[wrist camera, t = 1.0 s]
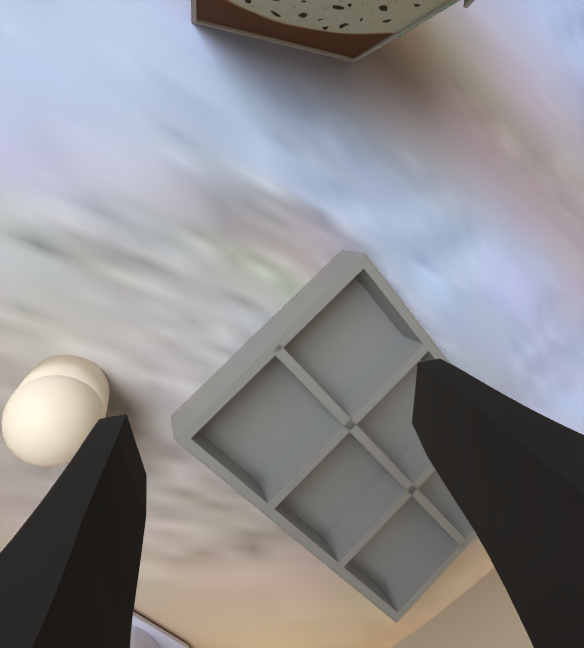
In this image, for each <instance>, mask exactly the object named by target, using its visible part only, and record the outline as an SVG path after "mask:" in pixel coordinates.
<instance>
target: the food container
mask: <svg viewBox="0 0 584 648" xmlns="http://www.w3.org/2000/svg"><path fill="white" fill-rule="evenodd" d="M458 1H460V0H191V16H192V23H194V24H198V25H203V26H207V27H211V28H215V29H219V30H223V31H227V32H231V33H235V34H239V35H243V36H247V37H251V38H256V39H260V40H264V41H268V42H272V43H276V44H280V45H284V46H288V47H292V48H296V49H300V50H304V51H309V52H313V53H317V54H321V55H325V56H329V57H333V58H337V59H341V60H345V61H349V62H353V63H355V62H357V61H359V60H360V59H362V58H364V57H365V56H367V55H369V54H371V53H372V52H374V51H376V50H377V49H379V48H381V47H382V46H384V45H386V44H387V43H389V42H391V41H392V40H394V39H396V38H397V37H399V36H401V35H402V34H404V33H406V32H408V31H409V30H411V29H413V28H414V27H416V26H418V25H419V24H421V23H423V22H424V21H426V20H428V19H429V18H431V17H433V16H434V15H436V14H438V13H439V12H441V11H443V10H445V9H446V8H448V7H450V6H451V5H453V4H455V3H456V2H458ZM473 1H474V0H464V7H465V8H468V7H469V6H470V5H471V3H472V2H473Z"/></svg>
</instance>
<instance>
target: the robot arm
mask: <svg viewBox="0 0 584 648" xmlns="http://www.w3.org/2000/svg"><path fill="white" fill-rule="evenodd" d="M412 424H413V427H414V429H415V431H416V433H417V435H418V438H419V440H420V442H421V444H422V446H423V448H424V450H425V452H426V455H427V457H428V458H429V460H430V462H431V463H432V465H433V467H434V468H435V470H436V471H437V473H438V475H439V476H440V478H441V479H442V481H443V482H444V484H445V486H446V487H447V489H448V490H449V492H450V493H451V495H452V497H453V498H454V500H455V501H456V503H457V504H458V506H459V507H460V509H461V511H462V512H463V514H464V515H465V517H466V518H467V520H468V522H469V523H470V525H471V526H472V528H473V529H474V531H475V533H476V534H477V536H478V538H479V539H480V541H481V543H482V544H483V546H484V548H485V549H486V551H487V553H488V555H489V557H490V559H491V561H492V563H493V565H494V567H495V569H496V571H497V573H498V574H499V576H500V578H501V580H502V582H503V584H504V586H505V588H506V590H507V592H508V594H509V596H510V598H511V600H512V602H513V604H514V607H515V608H516V611H517V613H518V615H519V617H520V619H521V621H522V623H523V625H524V627H525V629H526V631H527V633H528V636H529V638H530V640H531V642H532V644H533V647H534V648H584V435H583V434H580V433H578V432H576V431H574V430H572V429H569V428H567V427H565V426H563V425H561V424H559V423H557V422H555V421H553V420H551V419H549V418H547V417H545V416H543V415H541V414H539V413H537V412H535V411H533V410H531V409H529V408H528V407H526V406H524V405H522V404H520V403H518V402H516V401H515V400H513V399H511V398H509V397H507V396H506V395H504V394H502V393H500V392H499V391H497V390H495V389H493V388H492V387H490V386H488V385H486V384H485V383H483V382H481V381H479V380H478V379H476V378H474V377H473V376H471V375H469V374H467V373H466V372H464V371H462V370H460V369H459V368H457V367H455V366H453V365H452V364H450V363H448V362H446V361H444V360H442V359H434V360H428V361H423V362H418V365H417V375H416V385H415V395H414V406H413V416H412ZM145 521H146V472H145V469H144V466H143V463H142V460H141V457H140V454H139V451H138V448H137V445H136V442H135V439H134V436H133V433H132V430H131V426H130V423H129V420H128V417H127V414H125V415H119V416H113V417H108V418H102V419H99V420H98V421H97V423H96V424H95V425H94V427H93V428H92V430H91V431H90V433H89V434H88V436H87V437H86V439H85V440H84V442H83V443H82V445H81V446H80V448H79V449H78V451H77V452H76V454H75V455H74V457H73V458H72V460H71V461H70V462H69V464H68V465H67V467H66V468H65V470H64V471H63V473H62V474H61V475H60V477H59V478H58V480H57V481H56V482H55V484H54V485H53V487H52V488H51V489H50V491H49V492H48V494H47V495H46V496H45V498H44V499H43V500H42V502H41V503H40V504H39V506H38V507H37V508H36V509H35V511H34V512H33V513H32V514H31V516H30V517H29V518H28V520H27V521H26V522H25V523H24V525H23V526H22V527H21V528H20V530H19V531H18V532H17V534H16V535H15V536H14V537H13V539H12V540H11V541H10V542H9V543H8V544H7V546H6V547H5V548H4V549H3V550H2V552H1V553H0V648H189V646H188V645H187V644H186V643H184V642H183V641H181V640H179V639H178V638H176V637H174V636H173V635H171V634H169V633H168V632H166V631H165V630H163V629H161V628H160V627H158V626H156V625H155V624H153V623H151V622H150V621H148V620H147V619H145V618H143V617H142V616H140V615H138V614H137V613H135V612H133V610H134V603H135V596H136V588H137V581H138V574H139V566H140V559H141V552H142V544H143V536H144V529H145Z"/></svg>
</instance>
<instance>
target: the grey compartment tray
mask: <svg viewBox="0 0 584 648" xmlns="http://www.w3.org/2000/svg"><path fill="white" fill-rule="evenodd" d="M434 359H442V360H444V361H446V362H448V363H449V361H448V360H447V359H446V357H445V356H444V355H443V353H442V352H441V351H440V350H439V348H438V347H437V346H436V344H435V343H434V342H433V341H432V339H431V338H430V337H429V335H428V334H427V333H426V331H425V330H424V329H423V328H422V326H421V325H420V324H419V322H418V321H417V320H416V318H415V317H414V316H413V315H412V313H411V312H410V311H409V309H408V308H407V307H406V306H405V304H404V303H403V302H402V300H401V299H400V298H399V296H398V295H397V294H396V293H395V291H394V290H393V289H392V287H391V286H390V285H389V283H388V282H387V281H386V280H385V278H384V277H383V276H382V274H381V273H380V272H379V271H378V269H377V268H376V267H375V265H374V264H373V263H372V261H371V260H370V259H369V258H368V256H367V255H366V254H365V253H360V252H351V251H343V250H342V251H341V252H340V253H339V254H338V255H337V256H335V257H334V258H333V259H332V260H331V261H330V262H329V263H328V264H327V265H326V266H325V267H324V268H323V269H322V270H321V271H320V272H319V273H318V274H317V275H316V276H315V277H314V278H313V279H312V280H311V281H310V282H309V283H308V284H307V285H306V286H305V287H304V288H303V289H302V290H301V291H300V292H298V293H297V294H296V295H295V296H294V297H293V298H292V299H291V300H290V301H289V302H288V303H287V304H286V305H285V306H284V307H283V308H282V309H281V310H280V311H279V312H278V313H277V314H276V315H275V316H274V317H273V318H272V319H271V320H270V321H269V322H268V323H267V324H266V325H265V326H264V327H263V328H261V329H260V330H259V331H258V332H257V333H256V334H255V335H254V336H253V337H252V338H251V339H250V340H249V341H248V342H247V343H246V344H245V345H244V346H243V347H242V348H241V349H240V350H239V351H238V352H237V353H236V354H235V355H234V356H233V357H232V358H231V359H230V360H229V361H228V362H227V363H226V364H224V365H223V366H222V367H221V368H220V369H219V370H218V371H217V372H216V373H215V374H214V375H213V376H212V377H211V378H210V379H209V380H208V381H207V382H206V383H205V384H204V385H203V386H202V387H201V388H200V389H199V390H198V391H197V392H196V393H195V394H194V395H193V396H192V397H191V398H190V399H189V400H187V401H186V402H185V403H184V404H183V405H182V406H181V407H180V408H179V409H178V410H177V411H176V412H175V413H174V414H173V415H172V416H171V420H172V427H173V433H174V440H175V441H176V442H178V443H179V444H180V445H181V446H182V447H184V448H185V449H186V450H187V451H189V452H190V453H191V454H192V455H193V456H195V457H196V458H197V459H198V460H199V461H201V462H202V463H203V464H204V465H206V466H207V467H208V468H209V469H210V470H212V471H213V472H214V473H215V474H216V475H218V476H219V477H220V478H221V479H222V480H224V481H225V482H226V483H227V484H229V485H230V486H231V487H232V488H233V489H235V490H236V491H237V492H238V493H239V494H241V495H242V496H243V497H244V498H246V499H247V500H248V501H249V502H250V503H252V504H253V505H254V506H255V507H256V508H258V509H259V510H260V511H261V512H263V513H264V514H265V515H266V516H267V517H269V518H270V519H271V520H272V521H273V522H275V523H276V524H277V525H278V526H280V527H281V528H282V529H283V530H284V531H286V532H287V533H288V534H289V535H290V536H292V537H293V538H294V539H295V540H296V541H298V542H299V543H300V544H301V545H303V546H304V547H305V548H306V549H307V550H309V551H310V552H311V553H312V554H313V555H315V556H316V557H317V558H318V559H320V560H321V561H322V562H323V563H324V564H326V565H327V566H328V567H329V568H330V569H332V570H333V571H334V572H335V573H337V574H338V575H339V576H340V577H341V578H343V579H344V580H345V581H346V582H347V583H349V584H350V585H351V586H352V587H354V588H355V589H356V590H357V591H358V592H360V593H361V594H362V595H363V596H364V597H366V598H367V599H368V600H369V601H370V602H372V603H373V604H374V605H375V606H377V607H378V608H379V609H380V610H381V611H383V612H384V613H385V614H386V615H387V616H389V617H390V618H391V619H392V620H394V621H395V622H396V623H397V622H398V621H399V620H400V619H401V617H402V616H403V615H404V614H405V613H406V612H407V611H408V610H409V609H410V608H411V607H412V605H413V604H414V603H415V602H416V601H417V600H418V599H419V598H420V597H421V596H422V595H423V594H424V592H425V591H426V590H427V589H428V588H429V587H430V586H431V585H432V584H433V583H434V582H435V580H436V579H437V578H438V577H439V576H440V575H441V574H442V573H443V572H444V571H445V570H446V568H447V567H448V566H449V565H450V564H451V563H452V562H453V561H454V560H455V559H456V558H457V556H458V555H459V554H460V553H461V552H462V551H463V550H464V549H465V548H466V547H467V546H468V545H469V543H470V542H471V541H472V540H473V539H474V538H475V537H476V536H477V534H476V533H475V531H474V529H473V528H472V526H471V525H470V523H469V522H468V520H467V518H466V517H465V515H464V514H463V512H462V511H461V509H460V507H459V506H458V504H457V503H456V501H455V500H454V498H453V497H452V495H451V493H450V492H449V490H448V489H447V487H446V486H445V484H444V482H443V481H442V479H441V478H440V476H439V475H438V473H437V471H436V470H435V468H434V467H433V465H432V463H431V462H430V460H429V458H428V457H427V455H426V452H425V450H424V448H423V446H422V444H421V442H420V440H419V438H418V435H417V433H416V431H415V429H414V427H413V424H412V416H413V406H414V395H415V385H416V375H417V365H418V362H423V361H428V360H434Z"/></svg>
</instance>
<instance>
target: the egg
mask: <svg viewBox="0 0 584 648" xmlns="http://www.w3.org/2000/svg"><path fill="white" fill-rule="evenodd" d="M109 396H110V388H109V383H108V380H107V378H106V376H105V374H104V373H103V371H102V370H101V369H100V368H99V367H98V366H97V365H96V364H94V363H93V362H91V361H89V360H87V359H85V358H82V357H79V356H73V355H60V356H55V357H51V358H48V359H46V360H44V361H42V362H41V363H39V364H38V365H36V366H35V367H34V368H33V369H32V370H31V371H30V373H29V374H28V375H27V376H26V378H25V379H24V380H23V382H22V383H21V384H20V385H19V387H18V388H17V389H16V391H15V392H14V393H13V395H12V396H11V397H10V399H9V400H8V402H7V404H6V406H5V408H4V411H3V415H2V426H1V427H2V433H3V437H4V440H5V442H6V444H7V446H8V447H9V449H10V450H11V451H12V452H13V453H14V454H15V455H16V456H17V457H19V458H20V459H22V460H23V461H25V462H27V463H30V464H33V465H37V466H44V467H53V466H60V465H64V464H67V463H69V462H70V461H71V460H72V458H73V457H74V455H75V454H76V452H77V451H78V449H79V448H80V446H81V445H82V443H83V442H84V440H85V439H86V437H87V436H88V434H89V433H90V431H91V430H92V428H93V427H94V425H95V424H96V423H97V421H98V420H99V419H102V418H105V417H106V412H107V407H108V401H109Z"/></svg>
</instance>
